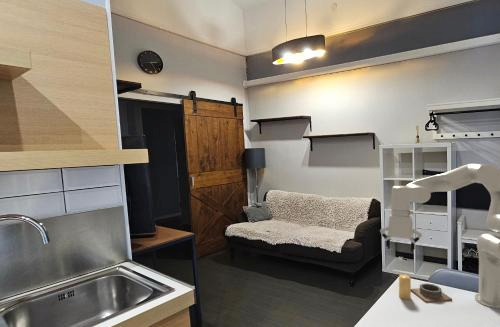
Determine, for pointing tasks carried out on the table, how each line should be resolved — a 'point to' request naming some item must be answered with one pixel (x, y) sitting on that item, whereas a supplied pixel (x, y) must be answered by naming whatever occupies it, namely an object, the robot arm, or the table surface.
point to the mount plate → (444, 297)
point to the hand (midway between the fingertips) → (400, 249)
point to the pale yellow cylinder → (404, 287)
